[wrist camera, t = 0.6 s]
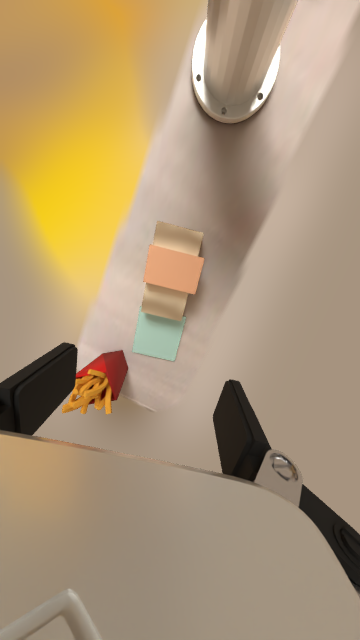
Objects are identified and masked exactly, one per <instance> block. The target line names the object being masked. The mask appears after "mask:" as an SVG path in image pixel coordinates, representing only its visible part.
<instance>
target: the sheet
mask: <svg viewBox="0 0 360 640" xmlns="http://www.w3.org/2000/svg"><path fill="white" fill-rule="evenodd" d="M203 234H204V233H202V232H198V231H194V230H190V229H187V228H183V227H179V226H175V225H171V224H168V223H164V222H160V221H157V225H156V230H155V236H154V241H153V245H155V246H159V247H162V248H166V249H170V250H174V251H178V252H182V253H186V254H190V255H194V256H197V257H198V254H199V250H200V246H201V242H202V238H203ZM187 297H188V293H187V292H183V291H179V290H175V289H170V288H166V287H162V286H158V285H154V284H150V283H146V286H145V291H144V297H143V302H142V308H141V312H144V313H148V314H152V315H156V316H161V317H165V318H169V319H173V320H177V321H181V320H182V316H183V313H184V309H185V305H186V301H187Z"/></svg>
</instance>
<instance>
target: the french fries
mask: <svg viewBox="0 0 360 640" xmlns="http://www.w3.org/2000/svg"><path fill="white" fill-rule="evenodd" d="M127 370H128V366H127V363H126V360H125V357H124V353H123V350H121V351H115V352H109V353H103V354H102V355H100V356H99V357H98V358H96V359H95V360H94V361H92V362H91V363H90V364H88V365H87V366H86V367H84V368H83V369H82V370H81V371H79V372H78V373H77V374H76V383H75V387H74V389H73V393H72V394H71V396H70V399H69V402H68V404H65V405H63V409H62V413H66V412H69V411H73V410H75V409H78V408H79V407H81V406H82V408H81V411H80V412H81V413H82V414H85V413H86V411H87V407H88V404H94V403H95V408H97V410H101V409H102V407H103V406H104V405H105V408H106V414H110V413H112V409H111V401H114V400H117V398H118V396H119V393H120V390H121V387H122V384H123V381H124V379H125V376H126V373H127ZM77 395H80V396H81V397H79V398H78V399H76V396H77ZM75 399H76V400H75Z"/></svg>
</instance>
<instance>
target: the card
mask: <svg viewBox="0 0 360 640" xmlns="http://www.w3.org/2000/svg"><path fill="white" fill-rule="evenodd" d="M204 259H205V258H201V257H197V256H194V255H190V254H186V253H182V252H178V251H174V250H170V249H166V248H162V247H159V246H155V245H151V244H150V247H149V252H148V258H147V264H146V269H145V275H144V281H143V282H146V283H150V284H154V285H158V286H162V287H166V288H170V289H175V290H179V291H183V292H187V293H191V294H195V293H196V289H197V285H198V281H199V278H200V274H201V270H202V266H203V263H204Z"/></svg>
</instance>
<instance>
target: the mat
mask: <svg viewBox="0 0 360 640" xmlns="http://www.w3.org/2000/svg"><path fill="white" fill-rule="evenodd" d="M141 308H142V306H140V311H139V316H138V322H137V328H136V333H135V339H134V344H133V350H132V352H135V353H139V354H144V355H148V356H152V357H157V358H161V359H166V360H170V361H175V358H176V354H177V350H178V346H179V342H180V339H181V335H182V331H183V327H184V323H185V320H186V317H184V316H182V320H181V321H177V320H173V319H169V318H165V317H161V316H156V315H152V314H148V313H144V312H141Z"/></svg>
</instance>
